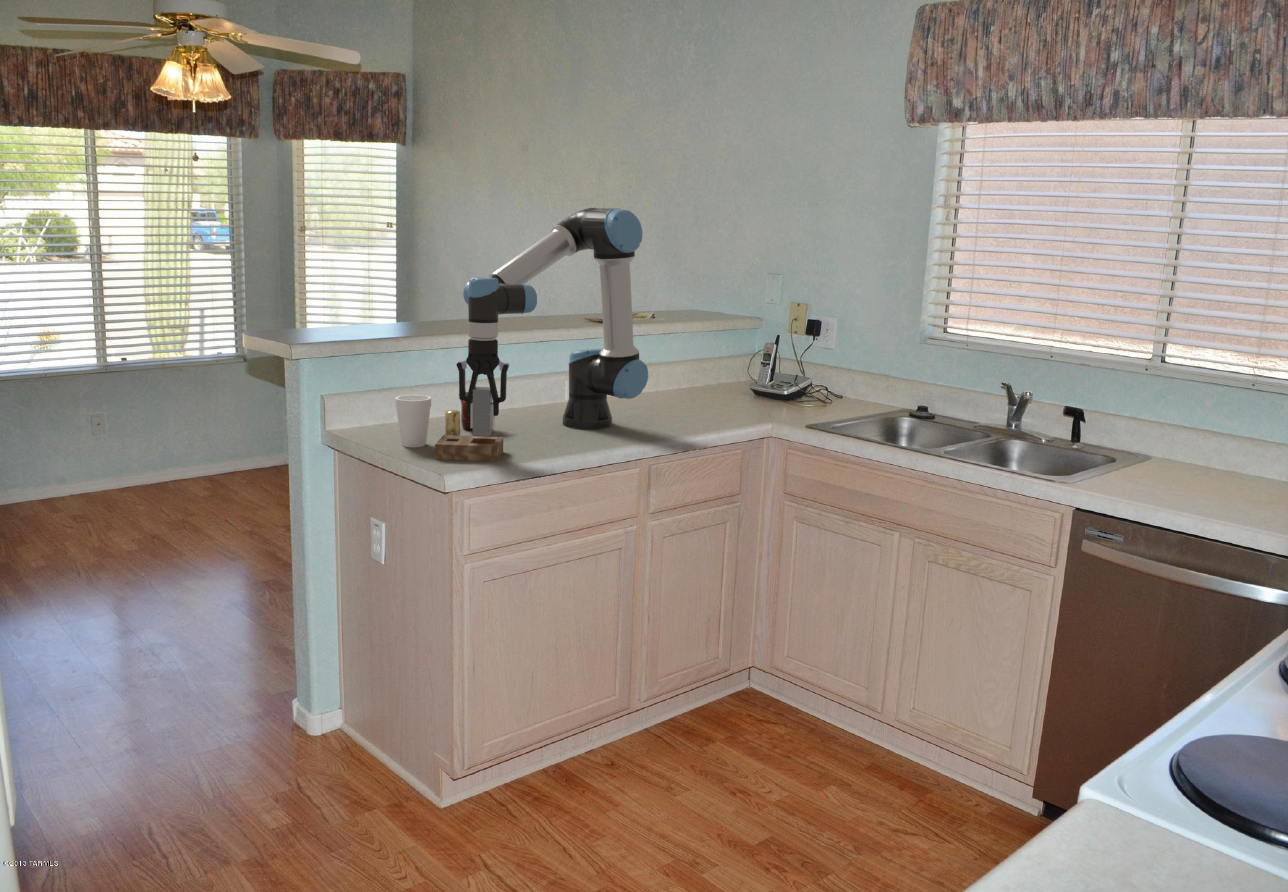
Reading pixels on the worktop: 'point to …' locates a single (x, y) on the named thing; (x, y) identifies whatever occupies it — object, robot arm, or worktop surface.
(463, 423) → the mug
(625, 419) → the worktop surface
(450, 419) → the brass dowel
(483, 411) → the square bit
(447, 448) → the socket block
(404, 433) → the foam cup
